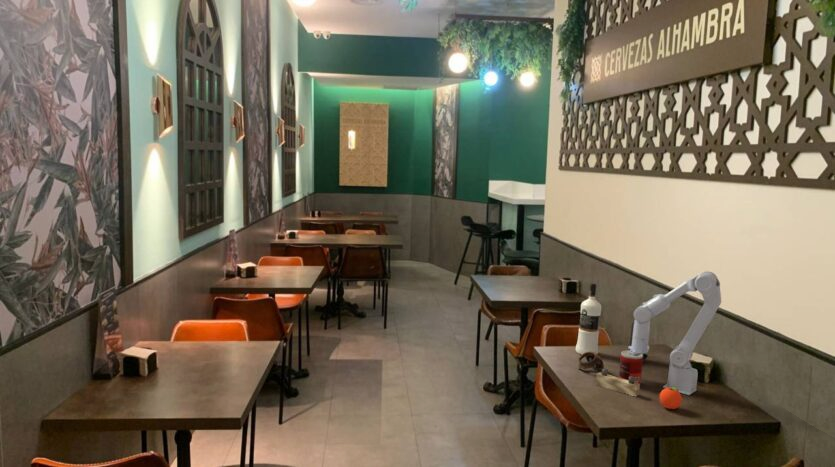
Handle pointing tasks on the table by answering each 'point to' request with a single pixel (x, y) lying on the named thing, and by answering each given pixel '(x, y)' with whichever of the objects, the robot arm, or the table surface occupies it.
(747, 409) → the table surface
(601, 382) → the maple stop bar
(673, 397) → the clementine
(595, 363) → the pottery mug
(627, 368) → the canned food
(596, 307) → the vodka
